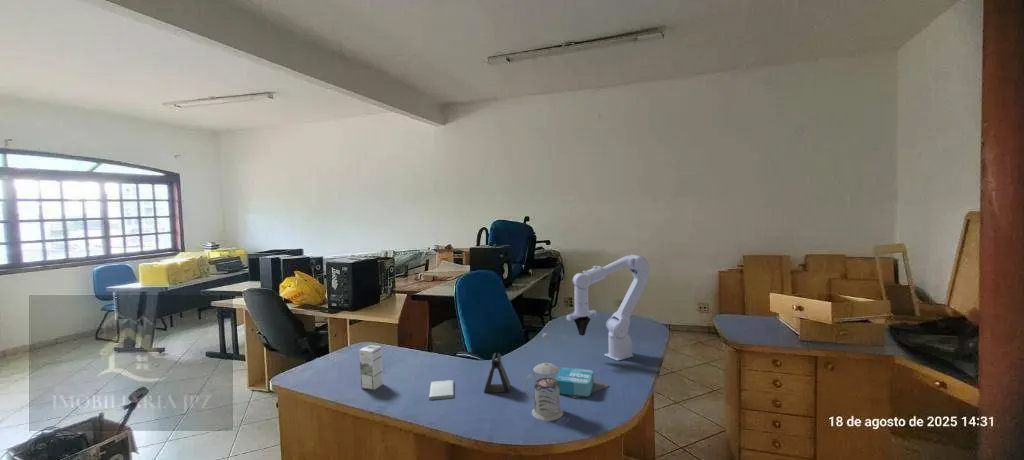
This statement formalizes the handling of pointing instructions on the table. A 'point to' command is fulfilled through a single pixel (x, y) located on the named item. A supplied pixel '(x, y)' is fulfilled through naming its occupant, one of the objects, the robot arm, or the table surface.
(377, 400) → the table surface
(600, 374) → the table surface
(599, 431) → the table surface
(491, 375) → the phone stand
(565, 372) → the data package
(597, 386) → the mat
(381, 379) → the syrup box
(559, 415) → the french press
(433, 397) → the hard drive
